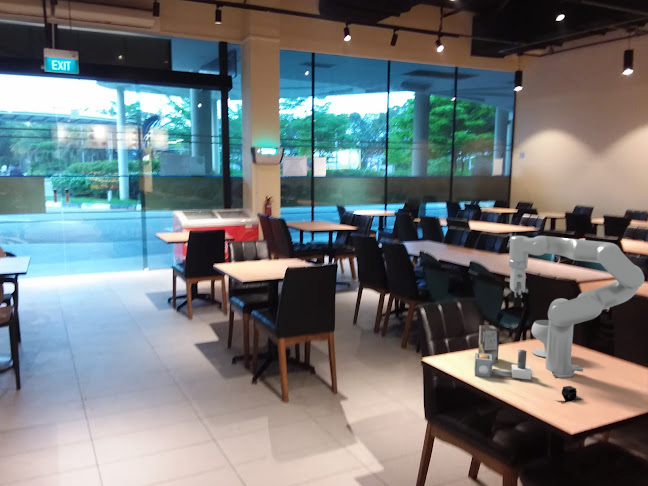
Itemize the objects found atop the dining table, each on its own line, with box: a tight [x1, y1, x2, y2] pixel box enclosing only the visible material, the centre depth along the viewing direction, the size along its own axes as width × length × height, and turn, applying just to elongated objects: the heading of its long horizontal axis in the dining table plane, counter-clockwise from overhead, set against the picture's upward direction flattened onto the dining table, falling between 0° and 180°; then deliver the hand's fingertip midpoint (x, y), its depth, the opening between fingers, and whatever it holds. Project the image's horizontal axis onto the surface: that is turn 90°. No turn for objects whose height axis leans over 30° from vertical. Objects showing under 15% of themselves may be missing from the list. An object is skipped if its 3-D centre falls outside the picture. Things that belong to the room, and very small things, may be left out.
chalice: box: [531, 319, 549, 359], centre depth 241 cm, size 14×14×15 cm
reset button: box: [479, 354, 488, 359], centre depth 212 cm, size 4×4×3 cm
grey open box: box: [474, 352, 493, 378], centre depth 212 cm, size 6×8×7 cm
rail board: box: [476, 368, 534, 383], centre depth 211 cm, size 22×9×4 cm, turn 75°
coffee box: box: [478, 324, 500, 364], centre depth 229 cm, size 9×6×16 cm
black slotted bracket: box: [560, 385, 584, 403], centre depth 193 cm, size 12×7×5 cm, turn 110°
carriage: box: [511, 349, 533, 380], centre depth 209 cm, size 7×6×11 cm
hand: (515, 303), depth 224 cm, fingers open, 9 cm apart
